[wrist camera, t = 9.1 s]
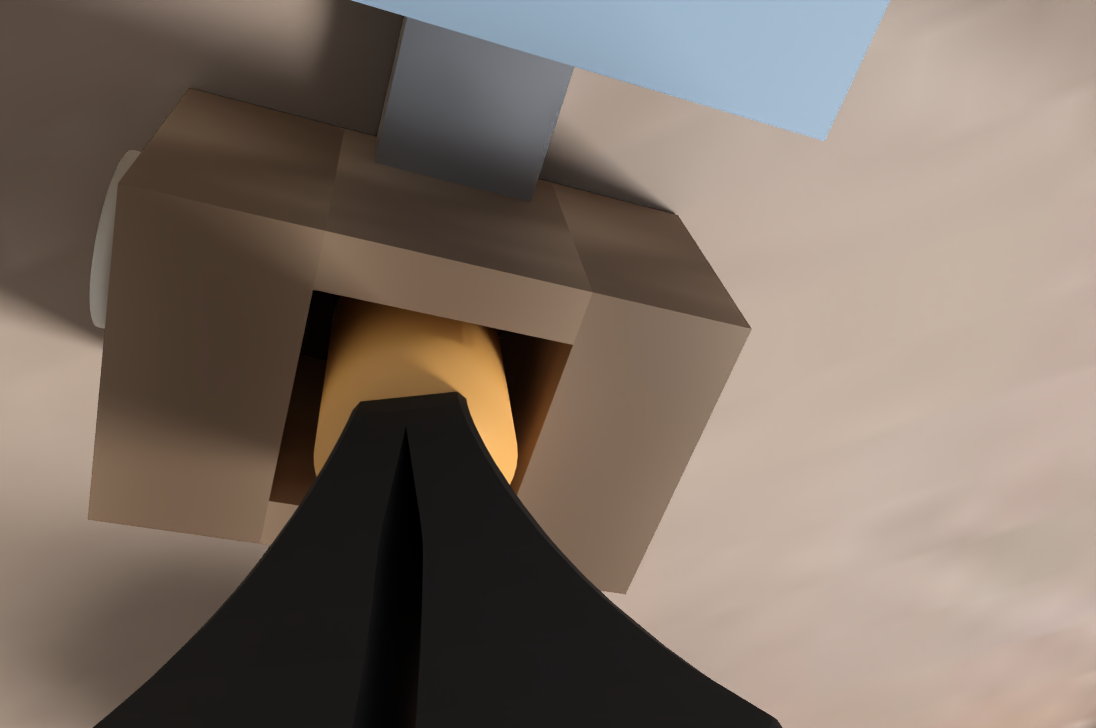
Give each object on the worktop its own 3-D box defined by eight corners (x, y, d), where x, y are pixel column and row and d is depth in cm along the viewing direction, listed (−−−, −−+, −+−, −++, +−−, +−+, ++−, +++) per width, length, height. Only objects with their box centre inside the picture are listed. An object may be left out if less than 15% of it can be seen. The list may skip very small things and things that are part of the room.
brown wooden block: (677, 215, 16) (751, 328, 12) (585, 445, 18) (625, 593, 15) (168, 82, 14) (89, 176, 10) (136, 364, 16) (64, 516, 13)
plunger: (516, 278, 14) (543, 396, 12) (472, 410, 16) (486, 548, 13) (350, 239, 14) (335, 355, 11) (318, 382, 15) (297, 521, 12)
